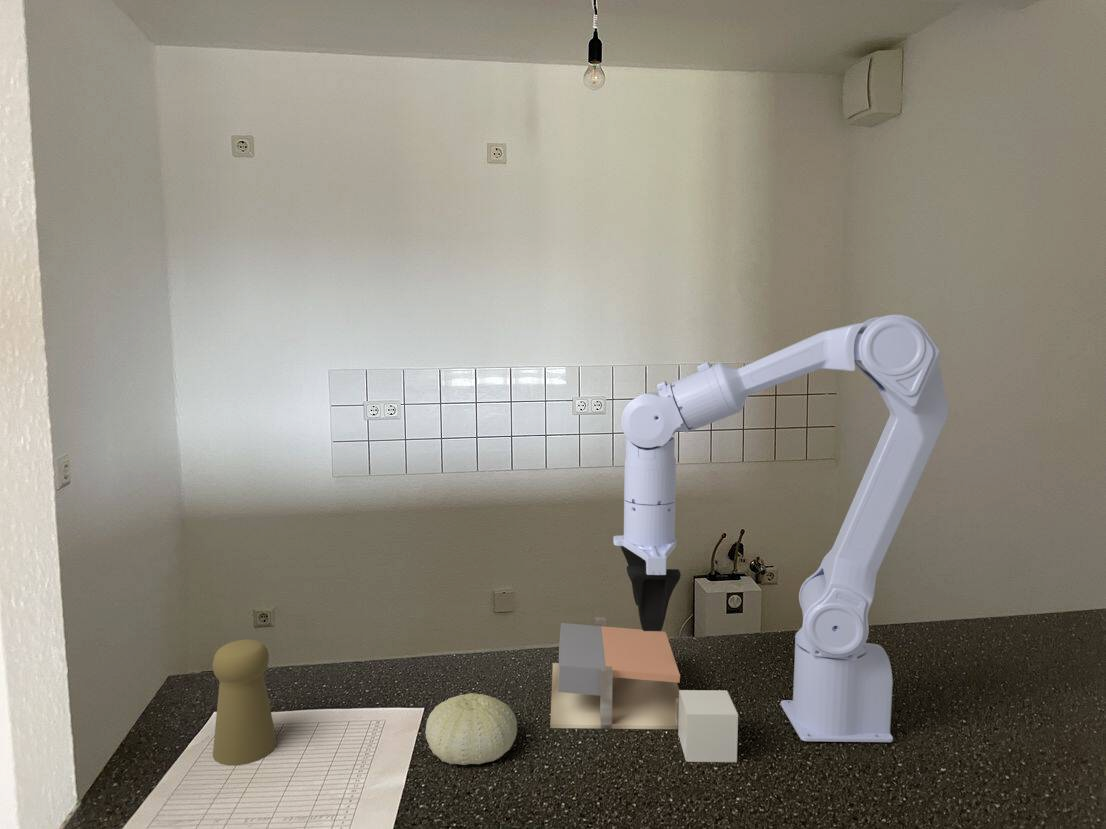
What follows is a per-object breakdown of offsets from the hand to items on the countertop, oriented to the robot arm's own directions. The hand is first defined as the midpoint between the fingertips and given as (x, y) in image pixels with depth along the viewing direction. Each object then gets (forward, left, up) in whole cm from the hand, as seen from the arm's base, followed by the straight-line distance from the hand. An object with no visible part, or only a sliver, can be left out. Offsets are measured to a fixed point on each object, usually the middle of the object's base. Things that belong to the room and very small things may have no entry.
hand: (647, 616), depth 85 cm
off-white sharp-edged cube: (-5, +10, -10) cm, 15 cm away
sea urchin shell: (+19, +10, -10) cm, 24 cm away
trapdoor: (+4, -1, -7) cm, 8 cm away
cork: (+42, +11, -10) cm, 45 cm away
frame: (+4, -1, -10) cm, 11 cm away
